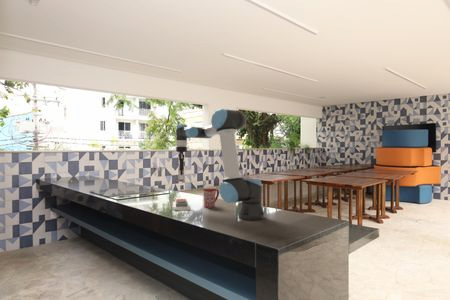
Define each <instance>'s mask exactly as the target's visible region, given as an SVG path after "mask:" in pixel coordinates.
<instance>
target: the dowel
mask: <svg viewBox="0 0 450 300" xmlns="http://www.w3.org/2000/svg"><path fill="white" fill-rule="evenodd" d="M183 168H184V170H183V179H182V180H180V170H179V169H180V164H178V182H181V183H182V182H185V165H184V166H183Z"/></svg>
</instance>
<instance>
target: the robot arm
mask: <svg viewBox="0 0 450 300" xmlns="http://www.w3.org/2000/svg"><path fill="white" fill-rule="evenodd" d="M210 121H211V122H210V125H207V126H205V127H200V126H199V127H197V126H188V125H187V124H183V123H182V124H181V123H180V124H177V125H176V129H175V131H176V132H175V135H176V139H175V140H176V141H175V142H174V143H175V144H176V147H175V148H176V149H175V151H176V152H177V153H178V161H179V164H180V169H179V168H178V171H179V170H180V180H182V179H183V170H184V171H185V153H186V152H187V151H188V147H187V146H188V139H207V140H208V139H212V137H214V136H217V135H218V136H219V141H220V148H221V158H222V164H223V165H222V166H223V173H224V177H223V178H222V183H221V184H220V186H219V195H220V197H221V199H222V200H223V201H224V202H225V203H228V204H230V203H231V204H235V203H239V202H241V205H240V209H239V213H238V218H239V219H241V220H246V221H260V220H264V219H265V212H264V208H263V206H262V192H263V191H262V188H263V186H262V181H261V180H260V179H257V178H247V177H243V176H242V175H241V174H240V167H239V160H238V152H237V146H236V145H237V144H236V137H235V133H236V132H237V131H238V130H242V129H243V128H244V127H245V126H246V123H247V118H246V115H245V114H244V113H243V112H242V111H240V110H235V109H227V108H219V109H216V110H215V111H214V112H213V114H212V115H211V120H210ZM179 164H178V165H179ZM183 166H184V168H183Z"/></svg>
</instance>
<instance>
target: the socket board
mask: <svg viewBox="0 0 450 300" xmlns="http://www.w3.org/2000/svg"><path fill="white" fill-rule="evenodd" d="M172 207H173V208H172V209H173V211H191V204H190V202H189V200H187V198H176V199H175V201H172Z"/></svg>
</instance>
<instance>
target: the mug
mask: <svg viewBox="0 0 450 300" xmlns="http://www.w3.org/2000/svg"><path fill="white" fill-rule="evenodd" d="M202 189H203V205H204V208H208V209H211V208H215V206H216V202H217V200H218V198H219V195H220V189H217V187H215V186H204V187H203V188H202Z"/></svg>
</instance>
